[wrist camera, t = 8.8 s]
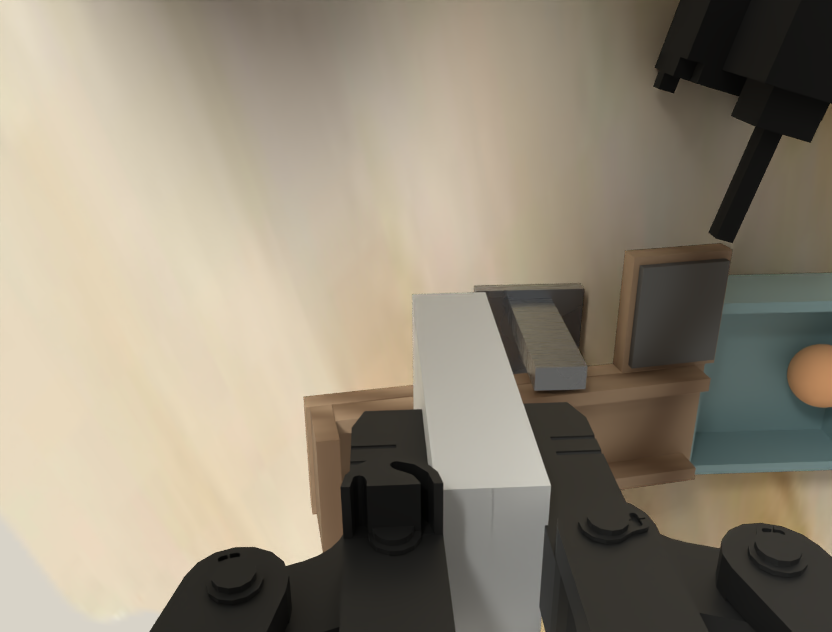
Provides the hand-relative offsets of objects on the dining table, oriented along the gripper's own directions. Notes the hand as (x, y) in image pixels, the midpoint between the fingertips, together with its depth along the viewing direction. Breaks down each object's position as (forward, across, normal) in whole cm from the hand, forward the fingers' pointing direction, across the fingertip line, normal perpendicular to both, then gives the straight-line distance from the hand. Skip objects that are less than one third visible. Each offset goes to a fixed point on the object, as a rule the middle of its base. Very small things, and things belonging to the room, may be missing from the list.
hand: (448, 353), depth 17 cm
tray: (+26, +21, -14) cm, 36 cm away
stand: (+26, +7, -14) cm, 31 cm away
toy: (+27, +16, +3) cm, 31 cm away
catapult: (+19, +5, -11) cm, 23 cm away
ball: (+24, +23, -14) cm, 36 cm away
